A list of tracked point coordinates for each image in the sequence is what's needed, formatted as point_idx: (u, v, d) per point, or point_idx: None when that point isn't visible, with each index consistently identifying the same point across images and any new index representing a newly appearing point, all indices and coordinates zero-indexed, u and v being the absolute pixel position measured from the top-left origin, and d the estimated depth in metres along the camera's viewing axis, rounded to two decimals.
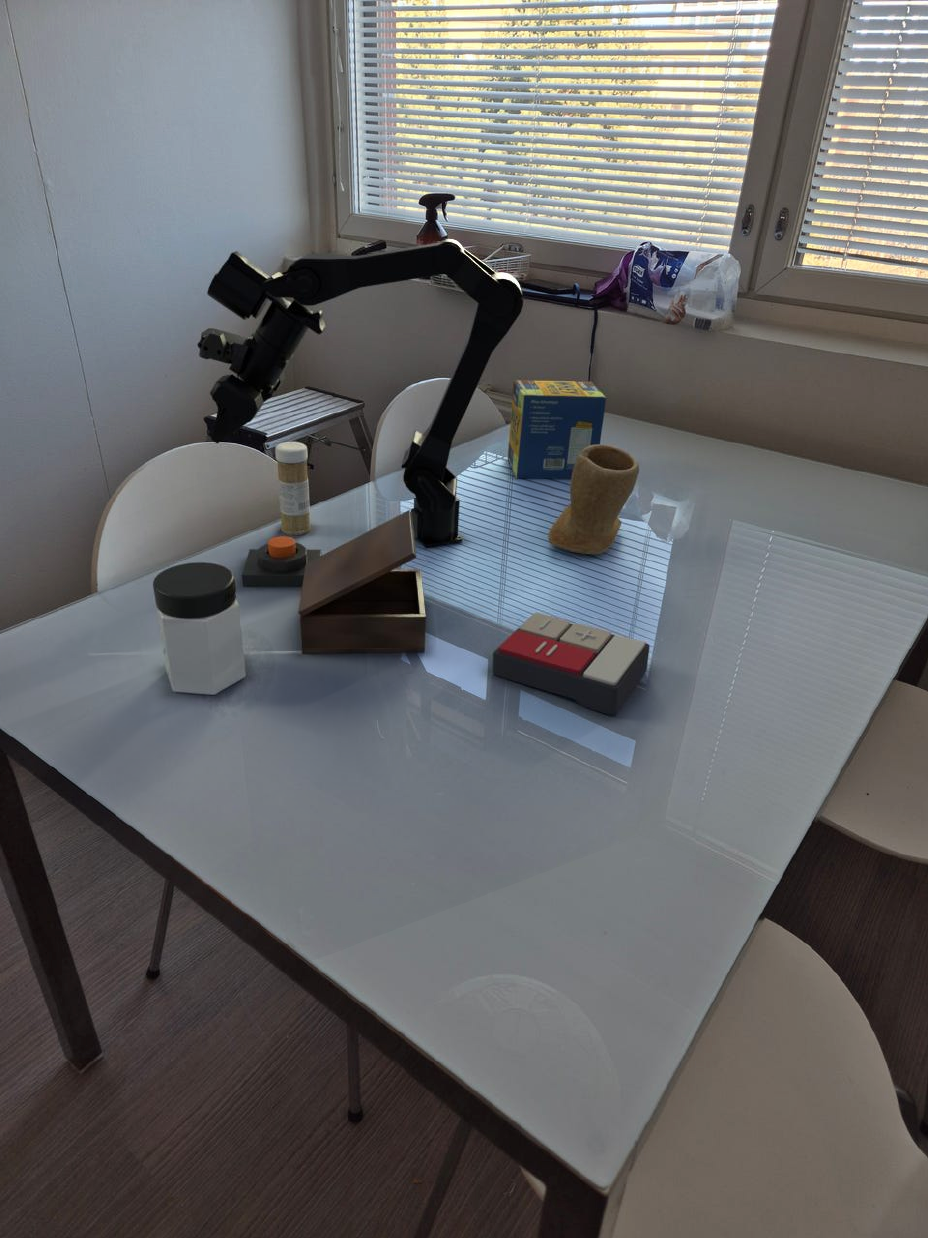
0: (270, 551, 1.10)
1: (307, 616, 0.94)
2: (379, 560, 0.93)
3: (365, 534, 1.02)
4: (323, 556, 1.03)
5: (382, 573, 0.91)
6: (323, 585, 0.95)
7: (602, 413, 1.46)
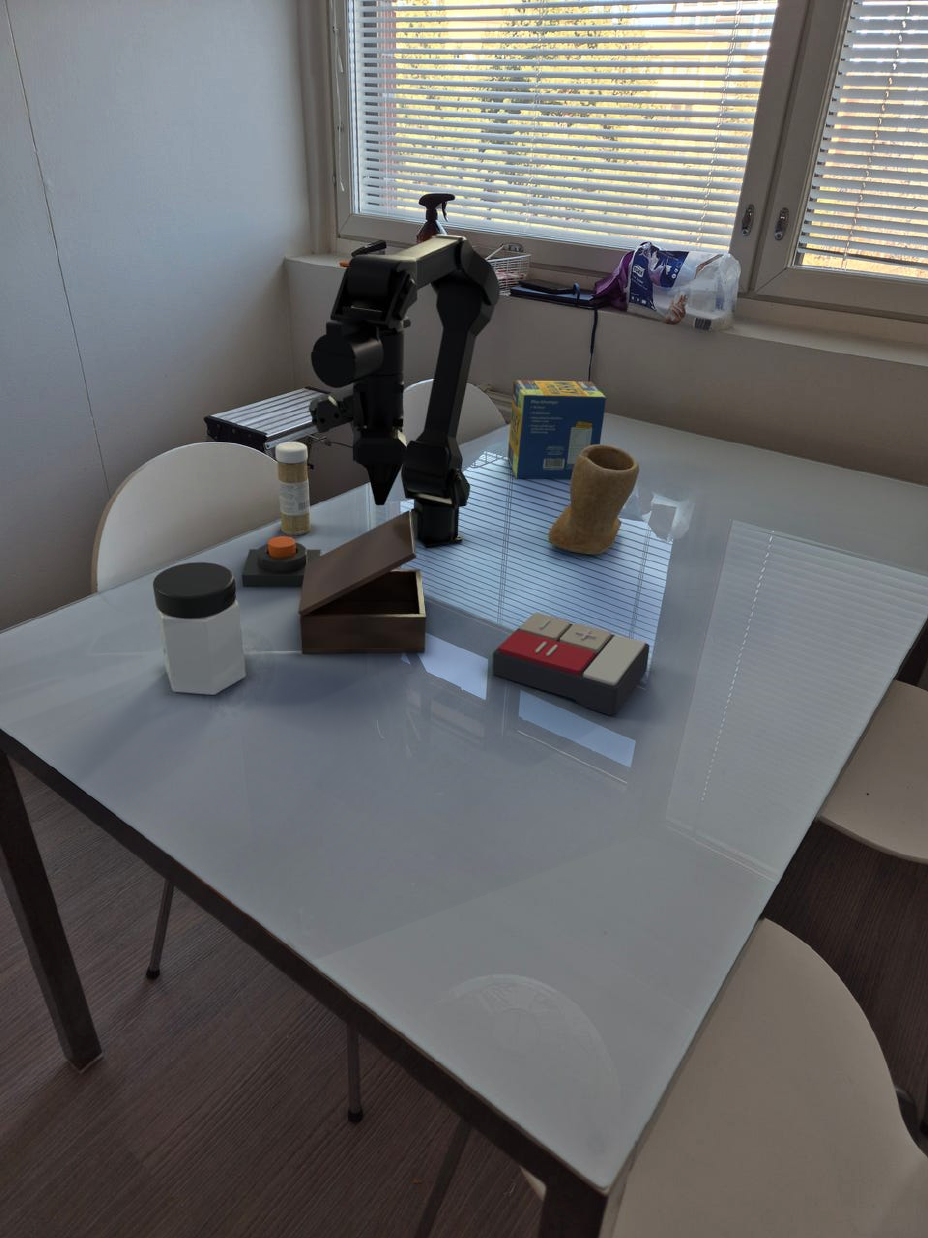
0: (270, 551, 1.10)
1: (307, 616, 0.94)
2: (379, 560, 0.93)
3: (365, 534, 1.02)
4: (323, 556, 1.03)
5: (382, 573, 0.91)
6: (323, 585, 0.95)
7: (602, 413, 1.46)
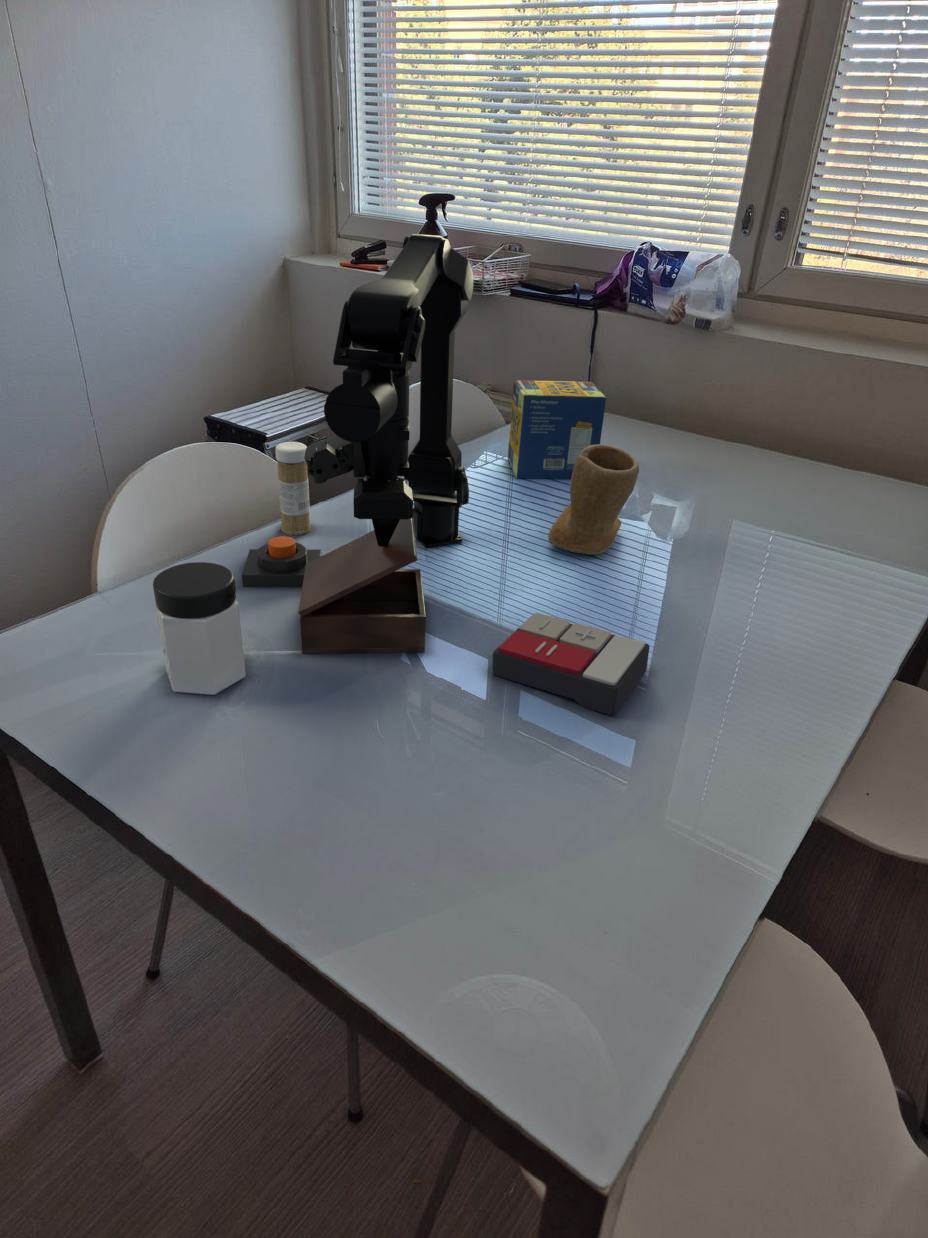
0: (270, 551, 1.10)
1: (307, 616, 0.94)
2: (380, 562, 0.93)
3: (366, 535, 1.02)
4: (323, 556, 1.03)
5: (383, 575, 0.92)
6: (324, 585, 0.95)
7: (602, 413, 1.46)
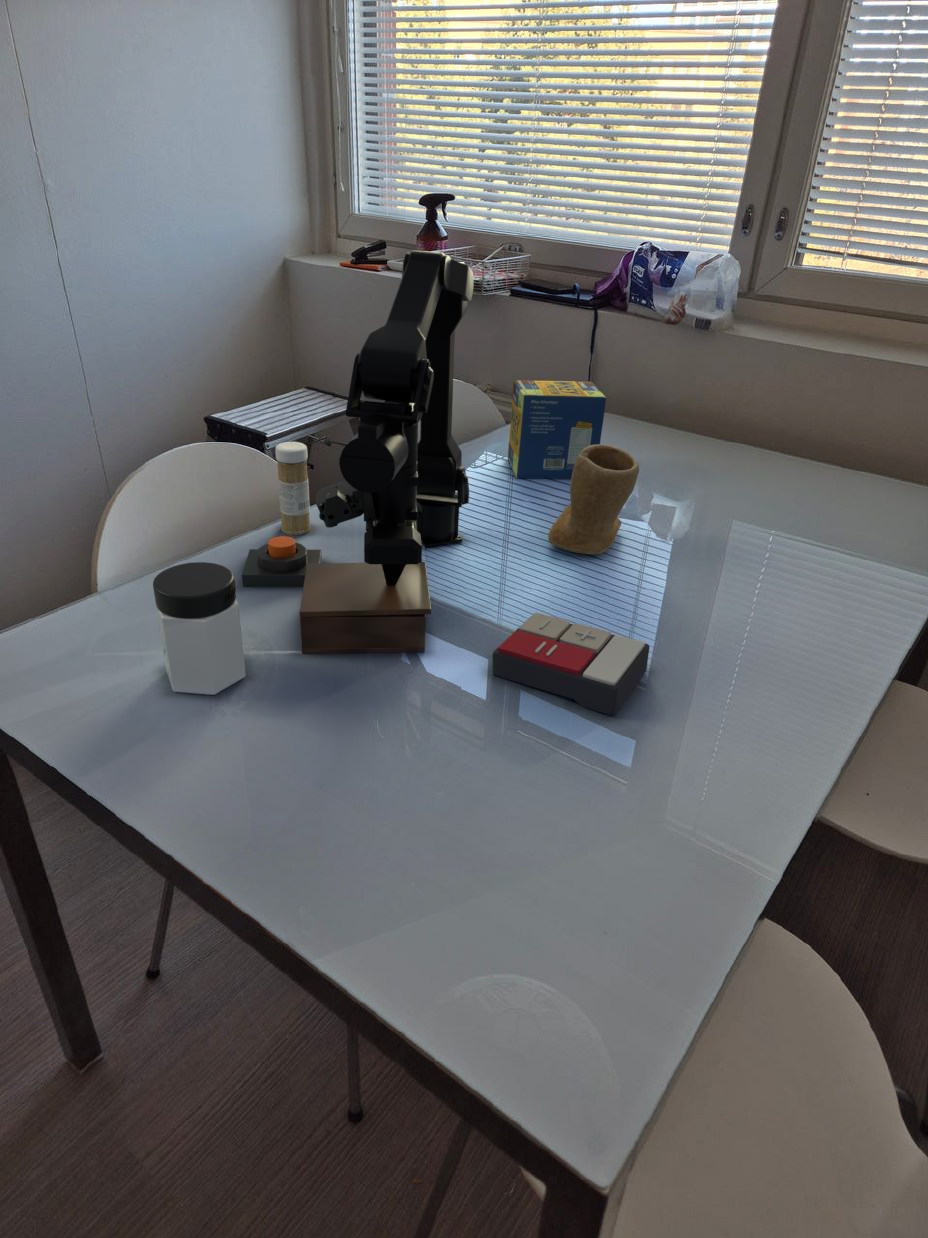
0: (270, 551, 1.10)
1: None
2: (392, 599, 0.96)
3: (376, 564, 1.04)
4: (328, 565, 1.03)
5: (394, 613, 0.94)
6: (329, 596, 0.96)
7: (602, 413, 1.46)
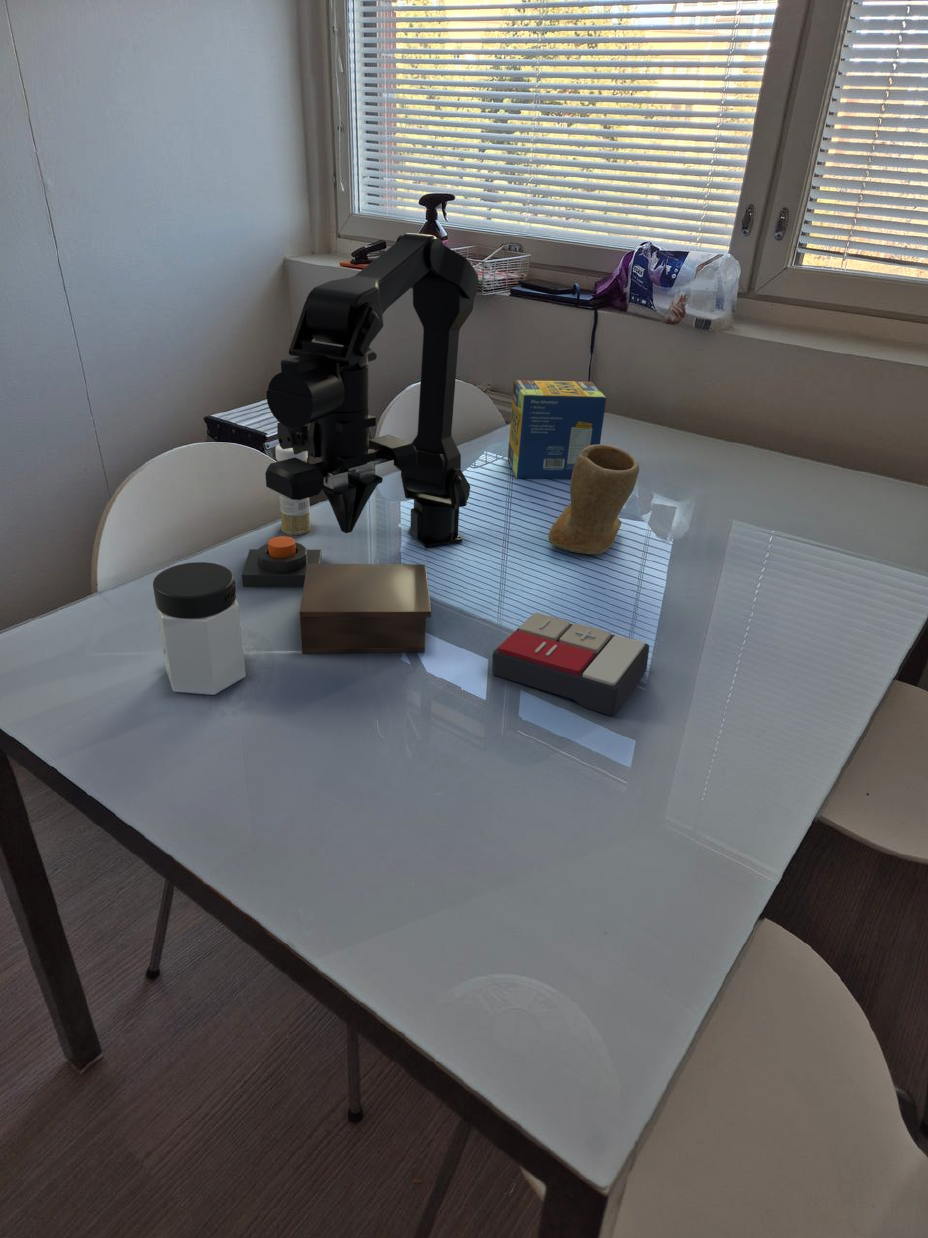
0: (270, 551, 1.10)
1: None
2: (392, 601, 0.96)
3: (376, 565, 1.04)
4: (328, 565, 1.03)
5: (394, 615, 0.94)
6: (329, 597, 0.96)
7: (602, 413, 1.46)
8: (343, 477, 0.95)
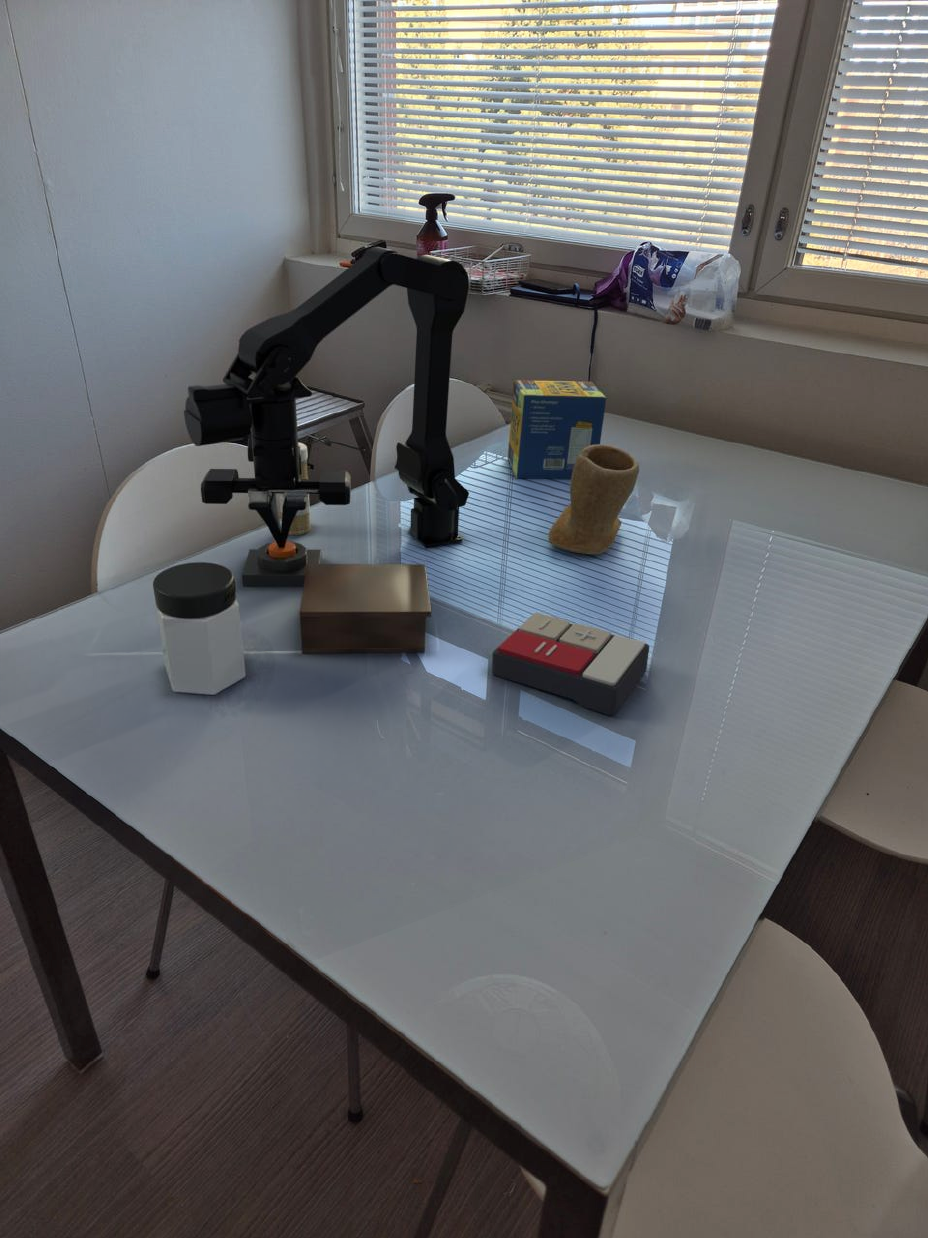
0: None
1: None
2: (392, 601, 0.96)
3: (376, 565, 1.04)
4: (328, 565, 1.03)
5: (394, 615, 0.94)
6: (329, 597, 0.96)
7: (602, 413, 1.46)
8: (261, 495, 1.05)
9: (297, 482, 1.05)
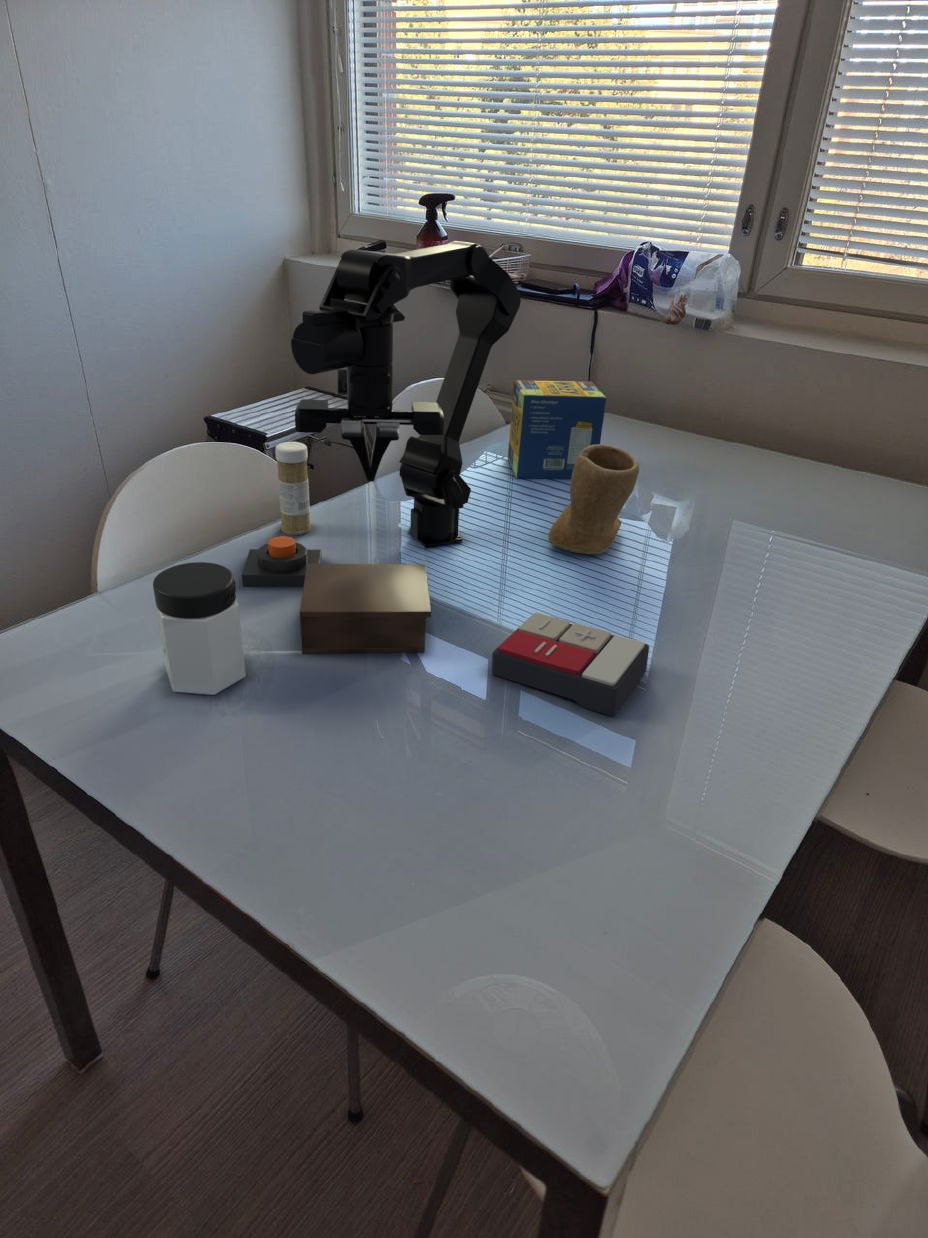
0: (270, 551, 1.10)
1: None
2: (392, 601, 0.96)
3: (376, 565, 1.04)
4: (328, 565, 1.03)
5: (394, 615, 0.94)
6: (329, 597, 0.96)
7: (602, 413, 1.46)
8: (355, 425, 1.04)
9: (390, 412, 1.04)
